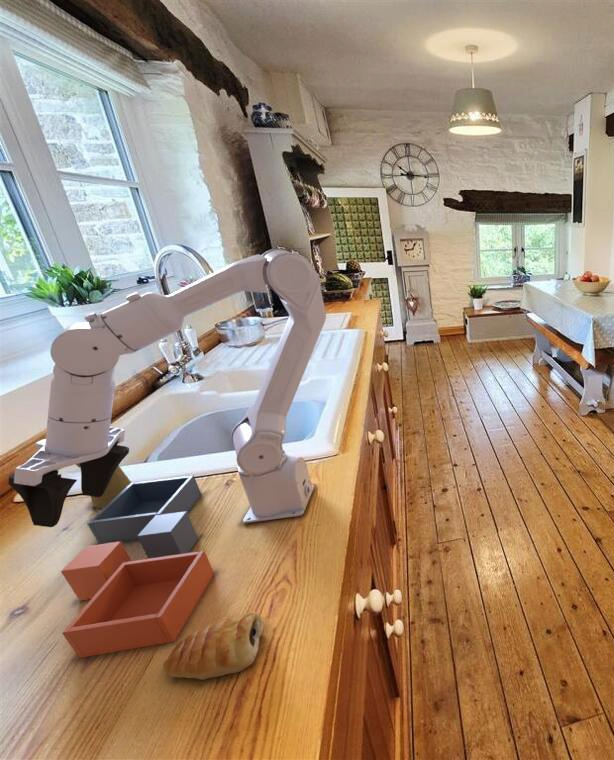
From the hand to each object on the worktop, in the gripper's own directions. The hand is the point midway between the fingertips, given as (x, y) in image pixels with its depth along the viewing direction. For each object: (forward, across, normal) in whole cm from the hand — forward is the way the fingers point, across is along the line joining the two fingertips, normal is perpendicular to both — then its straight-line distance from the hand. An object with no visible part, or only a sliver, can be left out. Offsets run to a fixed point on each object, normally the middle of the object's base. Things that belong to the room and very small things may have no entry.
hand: (70, 509), depth 55 cm
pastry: (+6, +15, +26) cm, 31 cm away
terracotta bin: (+8, +7, +15) cm, 18 cm away
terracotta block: (+10, +1, +6) cm, 12 cm away
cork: (+11, -21, -7) cm, 25 cm away
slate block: (+8, -4, +11) cm, 14 cm away
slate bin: (+9, -13, +4) cm, 16 cm away
